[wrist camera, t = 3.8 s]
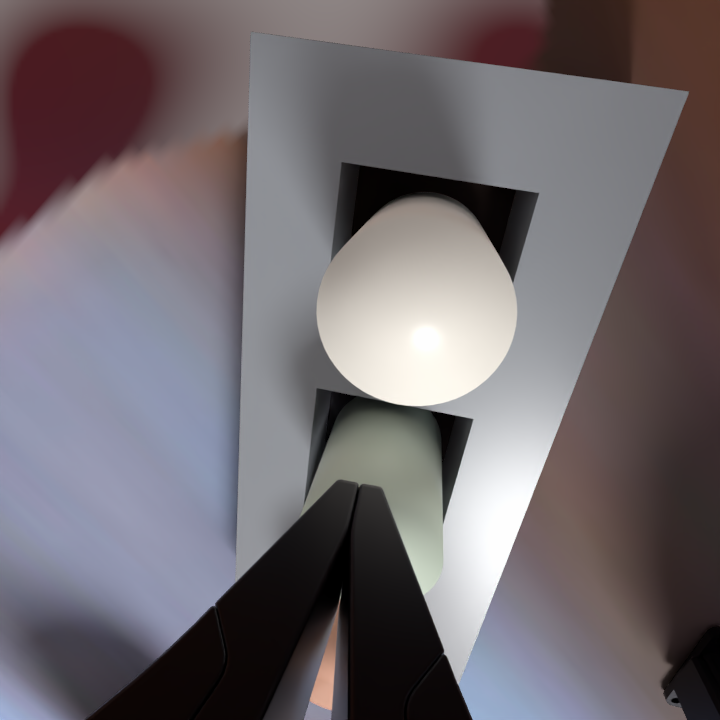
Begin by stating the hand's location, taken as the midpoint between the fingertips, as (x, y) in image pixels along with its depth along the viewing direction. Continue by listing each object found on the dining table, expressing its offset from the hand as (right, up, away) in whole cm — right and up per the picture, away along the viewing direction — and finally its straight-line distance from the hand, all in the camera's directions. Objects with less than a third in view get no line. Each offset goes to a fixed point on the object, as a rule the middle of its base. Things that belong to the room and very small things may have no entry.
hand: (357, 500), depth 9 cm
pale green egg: (+1, -1, +12) cm, 12 cm away
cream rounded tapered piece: (+2, +6, +8) cm, 11 cm away
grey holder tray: (+2, 0, +14) cm, 14 cm away
